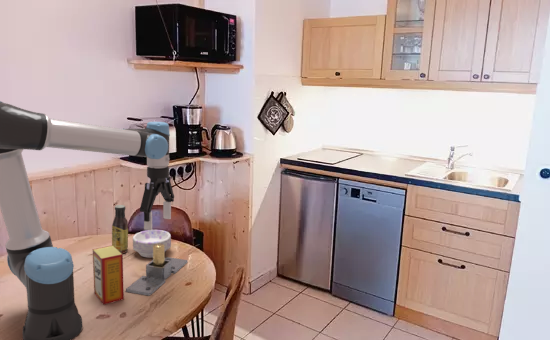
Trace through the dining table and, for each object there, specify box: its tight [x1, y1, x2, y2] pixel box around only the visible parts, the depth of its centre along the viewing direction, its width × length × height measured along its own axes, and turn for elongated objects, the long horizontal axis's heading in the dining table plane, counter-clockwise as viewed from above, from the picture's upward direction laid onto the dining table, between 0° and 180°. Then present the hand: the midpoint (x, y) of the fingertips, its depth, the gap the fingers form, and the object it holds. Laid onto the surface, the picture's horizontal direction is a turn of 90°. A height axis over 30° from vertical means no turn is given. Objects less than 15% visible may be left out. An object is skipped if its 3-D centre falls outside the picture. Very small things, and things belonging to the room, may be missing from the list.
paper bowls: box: [132, 229, 172, 259], centre depth 181 cm, size 15×15×8 cm
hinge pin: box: [152, 243, 166, 267], centre depth 160 cm, size 4×4×12 cm
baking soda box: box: [92, 244, 125, 306], centre depth 144 cm, size 10×6×16 cm
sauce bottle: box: [111, 204, 129, 255], centre depth 180 cm, size 6×6×20 cm
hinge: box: [125, 256, 189, 297], centre depth 161 cm, size 29×9×5 cm, turn 166°
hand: (158, 224), depth 158 cm, fingers open, 13 cm apart
